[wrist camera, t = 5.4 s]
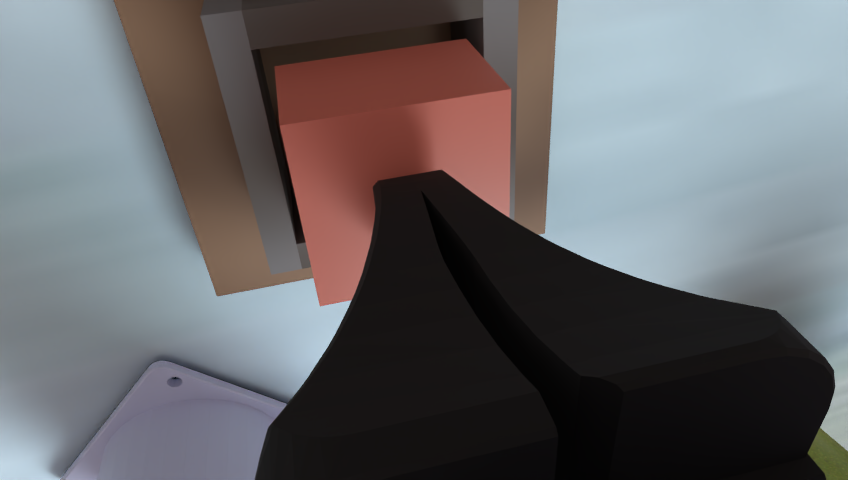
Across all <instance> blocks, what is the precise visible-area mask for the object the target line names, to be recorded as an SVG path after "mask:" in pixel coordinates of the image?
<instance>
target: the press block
mask: <svg viewBox="0 0 848 480" xmlns="http://www.w3.org/2000/svg"><path fill="white" fill-rule="evenodd" d="M114 2H115V5H116V8H117V11H118V14H119V17H120V20H121V22H122V25H123V28H124V31H125V34H126V37H127V40H128V43H129V45H130V48H131V51H132V54H133V57H134V60H135V63H136V65H137V68H138V71H139V74H140V77H141V80H142V83H143V86H144V88H145V91H146V94H147V97H148V100H149V103H150V106H151V108H152V111H153V114H154V117H155V120H156V123H157V126H158V128H159V131H160V134H161V137H162V140H163V143H164V146H165V149H166V151H167V154H168V157H169V160H170V163H171V166H172V169H173V171H174V174H175V177H176V180H177V183H178V186H179V189H180V192H181V194H182V197H183V200H184V203H185V206H186V209H187V212H188V214H189V217H190V220H191V223H192V226H193V229H194V232H195V235H196V237H197V240H198V243H199V246H200V249H201V252H202V255H203V257H204V260H205V263H206V266H207V269H208V272H209V275H210V277H211V280H212V283H213V286H214V289H215V292H216V295H217V296H222V295H227V294H232V293H238V292H243V291H248V290H253V289H258V288H263V287H269V286H274V285H279V284H284V283H289V282H295V281H300V280H305V279H310V278H314V277H313V273H312V268H311V264H310V259H309V255H308V250H307V246H306V241H305V237H304V232H303V228H302V224H301V219H300V215H299V210H298V206H297V201H296V197H295V192H294V188H293V183H292V179H291V174H290V170H289V165H288V161H287V156H286V152H285V147H284V143H283V138H282V134H281V130H280V124H279V113H278V101H277V90H276V79H275V67H274V66H280V65H287V64H294V63H300V62H307V61H314V60H321V59H328V58H335V57H342V56H349V55H356V54H363V53H370V52H376V51H383V50H390V49H397V48H404V47H411V46H418V45H425V44H432V43H439V42H446V41H452V40H459V39H467V40H468V41H469V42H470V43H471V44H472V46H473V47H474V48H475V49H476V50H477V51H478V52H479V53H480V55H481V56H482V57H483V58H484V59H485V60H486V61H487V62H488V64H489V65H490V66H491V67H492V68H493V69H494V70H495V71H496V72H497V74H498V75H499V76H500V77H501V78H502V79H503V80H504V81H505V83H506V84H507V85H508V86H509V87H510V88H511V143H510V214H509V218H510V219H512V220H514V221H515V222H517V223H518V224H520V225H522V226H524V227H525V228H527V229H529V230H530V231H532V232H534V233H536V234H537V235H538V234H543V233H545V221H546V203H547V185H548V167H549V149H550V131H551V113H552V95H553V76H554V58H555V40H556V22H557V4H558V0H114Z"/></svg>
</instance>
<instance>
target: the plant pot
mask: <svg viewBox="0 0 848 480" xmlns="http://www.w3.org/2000/svg"><path fill="white" fill-rule="evenodd" d="M808 454H809V456H810V457H811V458H812V459H813V460H814V461H815V463H816V464H817V465H818V466H819V467H820V469H821V470H822V471H823V472H824V473H825V476H826V480H848V451H847V450H846V449H844V448H843V447H842V446H841V445H840V444H838V443H837V442H836V441H835V440H834V439H833V438H831V437H830V436H829V435H828V434H827V433H825V432H824V431H823V430H822V429H821V428H819V430H818V433H817V435H816V437H815V439H814V441H813V443H812V445H811V447H810V449H809V451H808Z"/></svg>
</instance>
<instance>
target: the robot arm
mask: <svg viewBox="0 0 848 480" xmlns="http://www.w3.org/2000/svg"><path fill="white" fill-rule="evenodd" d="M373 194H374V201H375V220H374V226H373V231H372V237H371V243H370V247H369V250H368V254H367V258H366V261H365V265H364V268H363V272H362V275H361V278H360V280H359V283H358V286H357V289H356V291H355V294H354V296H353V298H352V301H351V303H350V306H349V308H348V310H347V312H346V314H345V316H344V318H343V320H342V322H341V324H340V326H339V328H338V330H337V332H336V334H335V336H334V337H333V339H332V341H331V343H330V344H329V346H328V348H327V349H326V351H325V352H324V354H323V355H322V357H321V358H320V360H319V361H318V363H317V364H316V366H315V368H314V369H313V371H312V372H311V374H310V375H309V377H308V378H307V380H306V381H305V382H304V384H303V385H302V386H301V388H300V389H299V390H298V392H297V393H296V394H295V395H294V396H293V398H292V399H291V400H290V401H289V403H288V404H286V403H283V402H280V401H277V400H275V399H272V398H269V397H266V396H263V395H261V394H258V393H255V392H252V391H250V390H247V389H244V388H241V387H238V386H236V385H233V384H230V383H227V382H225V381H222V380H219V379H216V378H213V377H211V376H208V375H205V374H202V373H199V372H197V371H194V370H191V369H188V368H186V367H183V366H180V365H177V364H174V363H172V362H168V361H157V362H154V363H152V364H151V365H150V366H149V367H148V368H147V370H146V371H145V372H144V373H143V375H142V376H141V377H140V379H139V380H138V381H137V382H136V384H135V385H134V386H133V387H132V389H131V390H130V391H129V393H128V394H127V395H126V396H125V398H124V399H123V400H122V401H121V403H120V404H119V405H118V407H117V408H116V409H115V410H114V412H113V413H112V414H111V415H110V417H109V418H108V419H107V421H106V422H105V423H104V424H103V426H102V427H101V428H100V429H99V431H98V432H97V433H96V434H95V436H94V437H93V438H92V440H91V441H90V442H89V443H88V445H87V446H86V447H85V448H84V450H83V451H82V452H81V454H80V455H79V456H78V457H77V459H76V460H75V461H74V462H73V464H72V465H71V466H70V468H69V469H68V470H67V471H66V473H65V474H64V475H63V476H62V478H61V479H60V480H826V476H825V473H824V472H823V471H822V470H821V469H820V467H819V466H818V465H817V464H816V463H815V461H814V460H813V459H812V458H811V457H810V456H809V454H808V451H809V449H810V447H811V445H812V443H813V441H814V439H815V437H816V435H817V433H818V430H819V428H820V426H821V424H822V422H823V420H824V418H825V416H826V414H827V412H828V410H829V407H830V404H831V400H832V397H833V394H834V390H835V379H834V370H833V368H832V367H831V366H830V364H829V363H828V361H827V360H826V358H825V357H824V356H823V355H822V354H821V353H820V352H819V351H818V350H817V349H816V348H815V347H814V346H813V345H811V344H810V343H809V342H808V341H807V340H806V339H805V338H804V337H803V336H802V335H801V334H800V333H799V332H798V331H797V330H796V329H795V328H794V327H793V326H792V325H791V324H790V323H789V322H788V321H787V320H786V319H785V318H784V317H782V316H781V315H780V314H779V313H778V312H777V311H775V310H770V309H765V308H759V307H754V306H749V305H744V304H739V303H734V302H728V301H723V300H718V299H713V298H708V297H704V296H699V295H696V294H692V293H688V292H684V291H680V290H677V289H673V288H669V287H665V286H662V285H659V284H655V283H652V282H649V281H646V280H642V279H639V278H636V277H633V276H631V275H628V274H625V273H622V272H619V271H617V270H614V269H611V268H608V267H606V266H603V265H601V264H598V263H596V262H593V261H591V260H588V259H586V258H584V257H582V256H580V255H577V254H575V253H573V252H571V251H569V250H567V249H564V248H562V247H560V246H558V245H556V244H554V243H552V242H550V241H548V240H546V239H544V238H543V237H541V236H539V235H537V234H536V233H534V232H532V231H530V230H529V229H527V228H525V227H524V226H522V225H520V224H518V223H517V222H515V221H514V220H512V219H510V218H509V217H507V216H506V215H504V214H503V213H501V212H500V211H498V210H497V209H495V208H494V207H492V206H491V205H489V204H488V203H487V202H485V201H484V200H482V199H481V198H479V197H478V196H477V195H475V194H474V193H473V192H471V191H470V190H469V189H467V188H466V187H465V186H463V185H462V184H461V183H459V182H458V181H457V180H455V179H454V178H453V177H451V176H450V175H449V174H447V173H446V172H445V171H443V170H436V171H430V172H424V173H419V174H413V175H407V176H401V177H396V178H390V179H384V180H378V181H377V182H376V183H375V185H374V186H373ZM172 377H178V378H180V379H172Z"/></svg>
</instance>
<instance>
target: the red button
mask: <svg viewBox="0 0 848 480" xmlns="http://www.w3.org/2000/svg"><path fill="white" fill-rule="evenodd" d="M274 67H275V79H276V90H277V101H278V113H279V124H280V130H281V134H282V138H283V143H284V147H285V152H286V156H287V161H288V165H289V170H290V174H291V179H292V183H293V188H294V192H295V197H296V201H297V206H298V210H299V215H300V219H301V224H302V228H303V232H304V237H305V241H306V246H307V250H308V255H309V259H310V264H311V268H312V273H313V277H314V282H315V286H316V291H317V295H318V300H319V304H320V306H324V305H329V304H334V303H339V302H344V301H349V300H352V298H353V296H354V294H355V291H356V289H357V286H358V283H359V280H360V278H361V275H362V272H363V268H364V265H365V261H366V258H367V254H368V250H369V247H370V243H371V237H372V231H373V226H374V220H375V201H374V194H373V186H374V185H375V183H376V182H377V181H378V180H384V179H390V178H396V177H401V176H407V175H413V174H419V173H424V172H430V171H436V170H443V171H445V172H446V173H447V174H449V175H450V176H451V177H453V178H454V179H455V180H457V181H458V182H459V183H461V184H462V185H463V186H465V187H466V188H467V189H469V190H470V191H471V192H473V193H474V194H475V195H477V196H478V197H479V198H481V199H482V200H484V201H485V202H487V203H488V204H489V205H491V206H492V207H494V208H495V209H497V210H498V211H500V212H501V213H503V214H504V215H506V216H507V217H509V214H510V143H511V88H510V87H509V86H508V85H507V84H506V83H505V81H504V80H503V79H502V78H501V77H500V76H499V75H498V74H497V72H496V71H495V70H494V69H493V68H492V67H491V66H490V65H489V64H488V62H487V61H486V60H485V59H484V58H483V57H482V56H481V55H480V53H479V52H478V51H477V50H476V49H475V48H474V47H473V46H472V44H471V43H470V42H469V41H468V40H467V39H459V40H452V41H446V42H439V43H432V44H425V45H418V46H411V47H404V48H397V49H390V50H383V51H376V52H370V53H363V54H356V55H349V56H342V57H335V58H328V59H321V60H314V61H307V62H300V63H294V64H287V65H280V66H274Z"/></svg>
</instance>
